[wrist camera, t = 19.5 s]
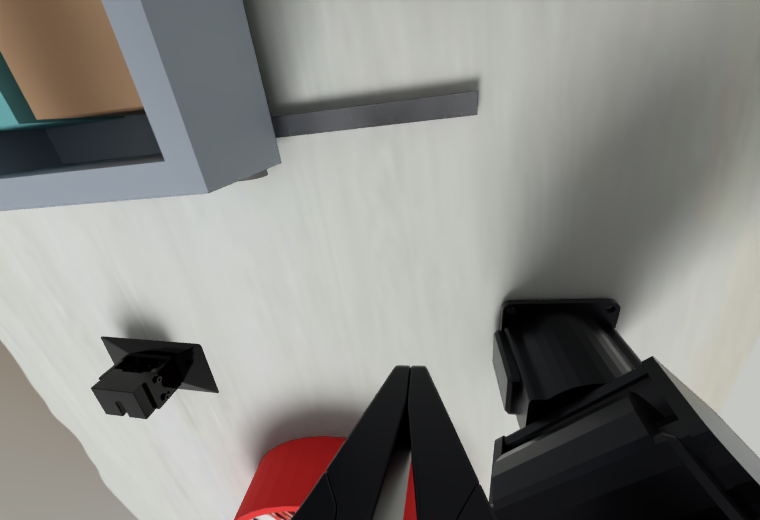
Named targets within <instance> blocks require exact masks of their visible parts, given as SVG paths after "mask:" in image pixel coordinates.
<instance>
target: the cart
mask: <svg viewBox="0 0 760 520" xmlns="http://www.w3.org/2000/svg"><path fill="white" fill-rule="evenodd" d="M101 1H102V3H103V6H104V9H105V11H106V14H107V16H108V19H109V21H110V24H111V26H112V29H113V31H114V34H115V36H116V39H117V41H118V44H119V46H120V49H121V51H122V54H123V56H124V59H125V61H126V64H127V67H128V69H129V72H130V74H131V77H132V79H133V82H134V84H135V87H136V89H137V92H138V94H139V97H140V99H141V102H142V104H143V107H144V109H145V112H146V114H142V115H126V116H124V118H122V119H115V120H108V121H101V122H93V123H86V124H79V125H72V126H65V127H58V128H51V129H37V130H23V131H9V132H0V211H7V210H19V209H30V208H42V207H54V206H66V205H77V204H89V203H101V202H113V201H124V200H136V199H148V198H159V197H171V196H183V195H195V194H206V193H211V192H213V191H215V190H218V189H220V188H222V187H225V186H227V185H230V184H232V183H234V182H237V181H245V180H252V179H257V178H261V177H264V176H266V175H268V173H267V169H268V168H270V167H273V166H275V165H277V164H280V163H281V159H280V154H279V150H278V146H277V142H276V138H275V134H274V130H273V125H272V121H271V117H270V113H269V109H268V105H267V101H266V96H265V92H264V88H263V84H262V80H261V76H260V71H259V67H258V63H257V59H256V55H255V51H254V47H253V42H252V38H251V34H250V30H249V26H248V22H247V18H246V13H245V9H244V5H243V1H242V0H101Z"/></svg>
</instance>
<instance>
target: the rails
mask: <svg viewBox="0 0 760 520" xmlns="http://www.w3.org/2000/svg"><path fill="white" fill-rule="evenodd" d="M477 102H478V91H473V92H465V93H458V94H450V95H442V96H434V97H426V98H418V99H410V100H403V101H395V102H387V103H379V104H371V105H363V106H355V107H347V108H340V109H332V110H324V111H316V112H308V113H300V114H292V115H285V116H277V117H271V121H272V125H273V130H274V134H275V138H278V137H287V136H296V135H304V134H313V133H322V132H331V131H339V130H348V129H357V128H366V127H374V126H383V125H392V124H400V123H409V122H418V121H427V120H435V119H444V118H453V117H462V116H470V115H477Z"/></svg>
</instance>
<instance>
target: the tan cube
mask: <svg viewBox="0 0 760 520" xmlns="http://www.w3.org/2000/svg"><path fill="white" fill-rule="evenodd" d="M0 51H1V53H2V55H3V57H4V59H5V61H6V63H7V65H8V67H9V68H10V70H11V72H12V74H13V76H14V78H15V80H16V82H17V83H18V85H19V87H20V89H21V91H22V93H23V95H24V97H25V99H26V100H27V102H28V104H29V106H30V108H31V110H32V112H33V114H34V116H35V117H36V119H37V120H41V119H63V118H84V117H105V116H126V115H142V114H146V112H145V109H144V107H143V104H142V102H141V99H140V97H139V94H138V92H137V89H136V87H135V84H134V82H133V79H132V77H131V74H130V72H129V69H128V67H127V64H126V61H125V59H124V56H123V54H122V51H121V49H120V46H119V44H118V41H117V39H116V36H115V34H114V31H113V29H112V26H111V24H110V21H109V19H108V16H107V14H106V11H105V9H104V6H103V3H102V1H101V0H0Z"/></svg>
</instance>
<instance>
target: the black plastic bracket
mask: <svg viewBox="0 0 760 520" xmlns="http://www.w3.org/2000/svg"><path fill="white" fill-rule="evenodd" d="M101 339H102V341H103V343H104V345H105V347H106V349H107V351H108V353H109V355H110V356H111V358H112V360H113V362H114V364H115V365H114V366H113V367H111V368H110V369H109V370H108V371H107V372H105V373H104V374H103V375H102V376H101V377H99V380H100V381H99V382H97V383H96V384H95V385H94V386H93V387H92V388H91V389H92V391H93V393H94V394H95V396H96V398H97V399H98V401H99V403H100V404H101V406H102V408H103V409H104V411H105V413H106V414H110V415H118V416H124V415H125V414H126V413H128V415H129V417H134V418H142V419H147V418H148V417H149V416H150V415H151V414H152V413H153V412H154V410H155V409H160V408H161V407H162V406H163V405H164V403H165V402H166V401H167V400H168V399H169V398H170V397H171V396H172V394H173V393H174V392H175V391H176V390H177V389H186V390H195V391H204V392H213V393H219V391H218V388H217V386H216V383H215V381H214V378H213V375H212V373H211V370H210V368H209V365H208V362H207V360H206V357H205V355H204V352H203V349H202V347H201V345H200V344H191V343H178V342H165V341H152V340H140V339H127V338H114V337H101Z"/></svg>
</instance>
